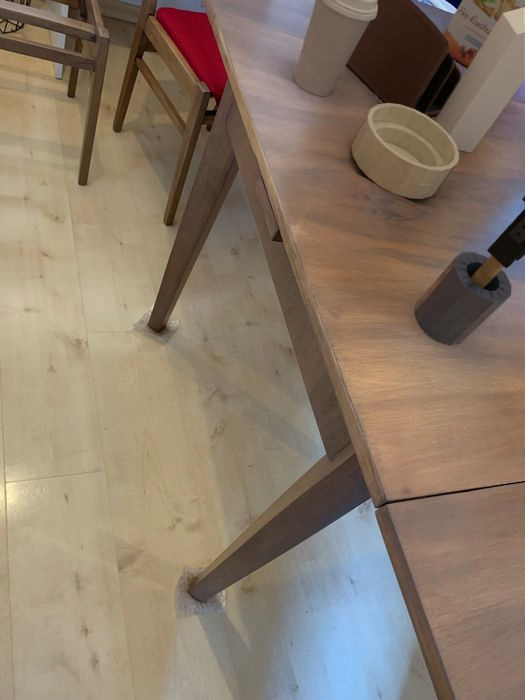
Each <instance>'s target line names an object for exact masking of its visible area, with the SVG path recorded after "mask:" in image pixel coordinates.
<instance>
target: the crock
mask: <svg viewBox="0 0 525 700" xmlns="http://www.w3.org/2000/svg"><path fill="white" fill-rule="evenodd" d="M488 258H489V257H487V256H486V255H484V254H480V253H477V252H474V251H465V252H464V251H463V252H461V253H459V254H458V255H456V256H455V258H454V259H452V261H451V262H450V263H449V264H448V266H447V267H446V268H445V269H444V270H443V271H442V273H440V275H439V276H438V277H437V278H436V279H435V281H434V282H433V283H432V284H431V286H430V287H429V288H428V289H427V290H426V291H425V292H424V293H423V295H421V296H420V298H419V299H418V301H416V303H415V307H414V316H415V320H416V321H417V324H418V325H419V327H420V329H422V331H423V332H424V333H425V334H426V335H427V336H428V337H430V338H431V339H433V340H434V341H436V342H438V343H441V344H444V345H447V346H448V345H449V346H455V345H460V344H462V343H463V342H464V341H465V340H466V339H467V338H468V337H469V336H470V335H471V334H472V333H474V332H475V330H477V328H479V326H481V325H482V324H483V323H484V322H485V321H486V320H487V319H488V318H489V317H490V316H492V314H493V313H494V312H495V311H497V310H498V309H499V308H500V307H501V306H502V305H503V304H504V303H505V302H506V301H507V300H508V299H509V298H510V297H511V296H512V284H511V281H510V280H509V277H508V274H507V273H505V271H504V270H503V269H502V270H501V271H500V272H499V273H498V274H497V275H496V276H495V277H494V278H493V279H492V280H491V281H490V282H489V283H488V284H487V285H486V286H485V287H484V288H483V289H482V288H480V287H479V286H477V285H476V284H475V283H474V282H473V281H472V280H471V279H470V278H471V276H472V275H473V274H474V273H475V272H476V271H477V270H478V269H479V268H480V267H481V266H482V265H483V264H484V262H485V261H486V260H487V259H488Z"/></svg>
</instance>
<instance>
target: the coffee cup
mask: <svg viewBox="0 0 525 700" xmlns="http://www.w3.org/2000/svg"><path fill="white" fill-rule="evenodd" d="M377 1H378V0H315V2H314V5H313V8H312V12H311V15H310V20H309V22H308V26H307V30H306V33H305V37H304V40H303V42H302V43H303V44H302V47H301V50H300V54H299V57H298V61H297V64H296V67H295V71H294V75H293V80H294V81H295V83H296V84H297V86H298V87H300V89H302V90H303V91H305V92H307V93H309V94H311V95H314V96H317V97H326V96H329V95H330V94H332V93H331V92H332V91H333V90H334V88H335V85H336V84H337V82H338V80H339V78H340V76H341V74H342V73H343V71H344V69H345V67H346V66H347V62H348V60H349V58H350V56H351V55H352V53H353V51H354V49H355V47H356V46H357V44H358V42H359V40H360V38H361V37H362V35H363V33H364V31H365V29H366V28H367V26H368V24H369V22H370V21H371V20H373V19H375V18H376V16H377V11H378V5H377Z"/></svg>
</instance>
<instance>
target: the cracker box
mask: <svg viewBox="0 0 525 700" xmlns="http://www.w3.org/2000/svg"><path fill="white" fill-rule="evenodd" d="M523 7H525V0H461V2H460V3H459V5H458V6H457V9H456V10H455V12H454V14H453V15H452V17H451V19H450V21H449V23H448V24H447V26H446V28H445V30H444V31H443V33H442V34H443V35H444V36H445V38H446V39H447V41H448V43H449V52H450V54H451V55H452V57H453V59H454V60H456V61H458V62H459V63H460V64H462V65H463V66H465V67H466V68H468V67H469V66H470V64H471V63H472V61H473V60H474V58H475V56H476V55H477V53H478V52H479V50H480V49H481V47H482V45H483V44H484V42H485V41H486V39H487V37H488V36H489V34H490V33H491V31H492V30H493V28H494V26H495V25H496V23H497V22H498V20H499V19H500V17H501V15H502V14H503V13H505V12H508V11H512V10H516V9H520V8H523Z"/></svg>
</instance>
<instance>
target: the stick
mask: <svg viewBox="0 0 525 700" xmlns="http://www.w3.org/2000/svg"><path fill="white" fill-rule="evenodd" d="M487 258H488V259H487V260H486V261H485V262H484V264H483V265H482V266H481V267H480V268H479V269H478V270H477V271H476V272H475V273H474V274H473V275H472V276H471V278H470V279H471V280H472V281H473V282H474V283H475V284H476V285H477V286H479V287H480V288H482V289H483V288H484V287H485V286H486V285H487V284H488V283H489V282H490V281H491V280H492V279H493V278H494V277H495V276H496V275H497V274H498V273H499V272H500V271H501V270H503V269H505V267H504V266H503V265H502V264H500V263H499V262H498V261H497V260H496V259H495V258H494V257H493V256H492V255H491V254H490V256H489V257H487Z"/></svg>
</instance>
